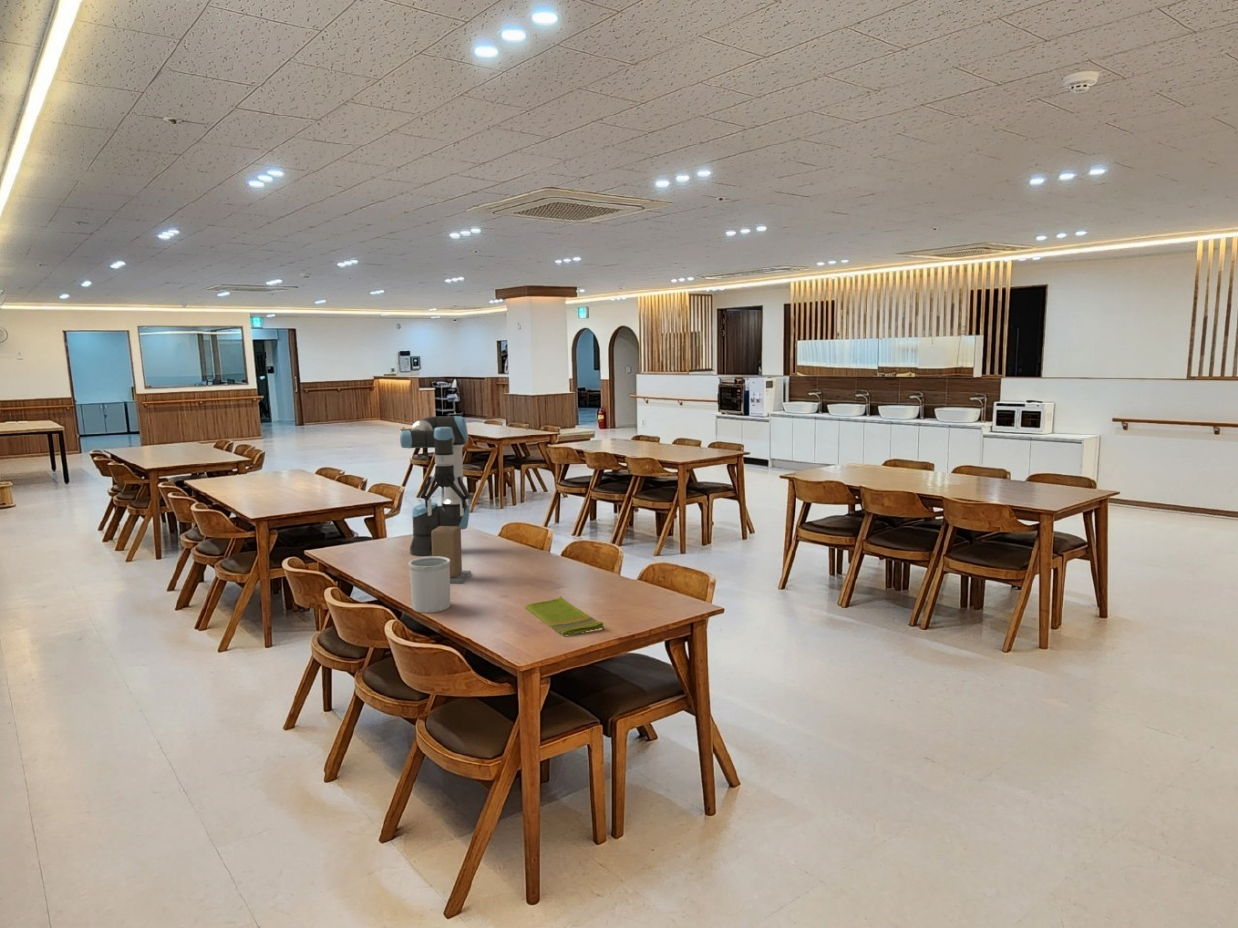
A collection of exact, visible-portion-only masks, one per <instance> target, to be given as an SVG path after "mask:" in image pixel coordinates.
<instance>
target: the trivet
mask: <svg viewBox="0 0 1238 928" xmlns="http://www.w3.org/2000/svg"><path fill="white" fill-rule="evenodd" d="M471 574H472V570H462V572H461V573H460V574H459V575H458V576H456V577H455V578H450V584H451V585H452V584H455V585H457V584H459V585H460V584H463V583H464V582H465V580H467V579H468V578H469V576H471Z"/></svg>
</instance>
